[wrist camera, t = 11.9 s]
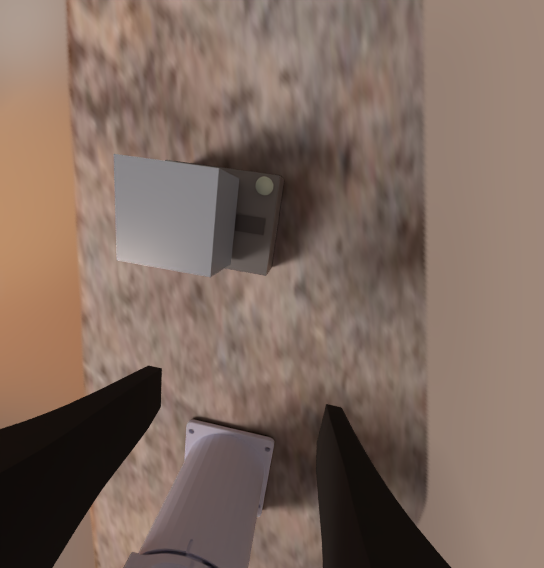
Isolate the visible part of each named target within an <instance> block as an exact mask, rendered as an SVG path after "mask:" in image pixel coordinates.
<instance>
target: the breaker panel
mask: <svg viewBox="0 0 544 568" xmlns="http://www.w3.org/2000/svg"><path fill="white" fill-rule="evenodd" d="M165 161H170V162H177V163H185V162H178V161H171V160H165ZM185 164H192V165H199V166H207V165H200V164H193V163H185ZM207 167H214V168H219V169H221V170H223V171H225V172H227V173H229V174H231V175H233V176H235V177H237V178H239V188H238V198H237V208H236V218H235V228H234V238H233V248H232V258H231V264H230V265H229V266H227V267H225V269H231V270H237V271H243V272H248V273H254V274H260V275H267V274H268V272H269V271H270V269H271V268H272V262H273V255H274V248H275V241H276V234H277V227H278V220H279V213H280V206H281V200H282V193H283V186H284V180H283V178H282V177H281V176H280V175H274V174H266V173H259V172H252V171H244V170H237V169H230V168H222V167H215V166H207Z"/></svg>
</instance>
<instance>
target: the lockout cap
mask: <svg viewBox="0 0 544 568" xmlns="http://www.w3.org/2000/svg"><path fill="white" fill-rule="evenodd" d="M114 181H115V217H116V252H117V261H122V262H128V263H134V264H139V265H145V266H150V267H156V268H162V269H167V270H173V271H178V272H184V273H190V274H195V275H201V276H206V277H211V276H213V275H215V274H216V273H218V272H219V271H221V270H222V269H224V268H225V267H227V266H229V265H230V264H231V258H232V248H233V238H234V228H235V218H236V208H237V198H238V188H239V178H237V177H235V176H233V175H231V174H229V173H227V172H225V171H223V170H221V169H219V168H214V167H207V166H199V165H192V164H185V163H177V162H170V161H163V160H155V159H148V158H141V157H133V156H126V155H119V154H114Z"/></svg>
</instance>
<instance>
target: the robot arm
mask: <svg viewBox="0 0 544 568" xmlns="http://www.w3.org/2000/svg"><path fill="white" fill-rule="evenodd" d="M161 377H162V368H157V367H152V366H147V367H145V368H143V369H140V370H138V371H136V372H134V373H132V374H130V375H128V376H126V377H124V378H122V379H120V380H118V381H116V382H114V383H112V384H110V385H108V386H106V387H104V388H102V389H100V390H98V391H96V392H94V393H92V394H90V395H87V396H85V397H83V398H81V399H79V400H76V401H74V402H72V403H70V404H68V405H65V406H63V407H60V408H58V409H56V410H53V411H51V412H48V413H46V414H43V415H40V416H37V417H35V418H32V419H29V420H27V421H24V422H21V423H18V424H15V425H12V426H9V427H5V428H2V429H0V568H52V567H53V566H54V564H55V562H56V561H57V559H58V558H59V556H60V554H61V553H62V551H63V550H64V548H65V546H66V545H67V543H68V541H69V540H70V538H71V537H72V535H73V533H74V532H75V530H76V529H77V527H78V525H79V524H80V522H81V521H82V519H83V518H84V516H85V515H86V513H87V511H88V510H89V508H90V507H91V505H92V504H93V502H94V501H95V499H96V498H97V496H98V495H99V493H100V492H101V490H102V489H103V488H104V486H105V485H106V483H107V482H108V481H109V480H110V478H111V477H112V476H113V474H114V473H115V472H116V470H117V469H118V468H119V466H120V465H121V464H122V463H123V461H124V460H125V459H126V457H127V456H128V455H129V453H130V452H131V451H132V449H133V448H134V447H135V445H136V444H137V443H138V441H139V440H140V439H141V437H142V436H143V435H144V433H145V432H146V431H147V429H148V428H149V426H150V424H151V423H152V421H153V420H154V418H155V416H156V414H157V413H158V411H159V409H160V407H161ZM192 429H193V430H192ZM267 447H269V448H267ZM273 448H274V440H273V439H272V438H270V437H267V436H262V435H258V434H254V433H249V432H245V431H241V430H237V429H232V428H228V427H224V426H219V425H215V424H211V423H207V422H202V421H198V420H193V419H191V420H189V421H188V423H187V429H186V445H185V461H184V463H183V465H182V467H181V469H180V471H179V473H178V475H177V477H176V479H175V481H174V483H173V485H172V487H171V489H170V491H169V493H168V495H167V497H166V499H165V501H164V503H163V505H162V507H161V509H160V511H159V513H158V515H157V517H156V519H155V521H154V523H153V525H152V527H151V529H150V531H149V533H148V535H147V537H146V539H145V541H144V543H143V545H142V547H141V549H140V551H139V553H135V552H132V553H131V554H130V556H129V558H128V560H127V562H126V564H125V565H124V567H123V568H248V565H249V559H250V553H251V548H252V542H253V536H254V530H255V524H256V519H257V517H259V516H260V515H261V513H262V507H263V502H264V497H265V491H266V486H267V480H268V475H269V469H270V464H271V459H272V453H273ZM316 474H317V487H318V500H319V512H320V524H321V536H322V554H323V568H451V567H450V566H449V565H448V563H447V562H446V561H445V560H444V559H443V558H442V557H441V555H440V554H439V553H438V552H437V551H436V550H435V548H434V547H433V546H432V545H431V543H430V542H429V541H428V540H427V539H426V537H425V536H424V535H423V534H422V533H421V531H420V530H419V529H418V528H417V526H416V525H415V524H414V523H413V521H412V520H411V519H410V517H409V516H408V515H407V514H406V512H405V511H404V509H403V508H402V507H401V505H400V504H399V503H398V501H397V500H396V499H395V497H394V496H393V494H392V493H391V491H390V490H389V488H388V487H387V485H386V484H385V482H384V481H383V479H382V478H381V476H380V475H379V473H378V472H377V470H376V469H375V467H374V465H373V464H372V462H371V460H370V459H369V457H368V455H367V454H366V452H365V450H364V448H363V447H362V445H361V443H360V441H359V440H358V438H357V436H356V434H355V432H354V430H353V429H352V427H351V425H350V423H349V421H348V419H347V417H346V415H345V413H344V411H343V409H342V408H341V407H337V406H332V405H328V404H326V407H325V412H324V416H323V420H322V424H321V428H320V432H319V436H318V440H317V455H316Z"/></svg>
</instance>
